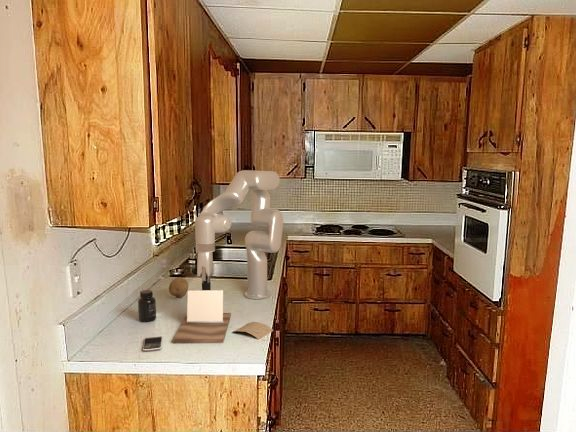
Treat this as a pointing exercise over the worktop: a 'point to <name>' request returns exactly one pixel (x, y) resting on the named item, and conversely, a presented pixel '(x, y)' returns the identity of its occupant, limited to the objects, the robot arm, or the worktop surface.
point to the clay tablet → (256, 329)
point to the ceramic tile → (205, 306)
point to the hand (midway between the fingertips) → (206, 291)
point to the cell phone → (152, 344)
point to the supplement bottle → (146, 306)
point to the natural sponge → (178, 287)
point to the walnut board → (202, 331)
